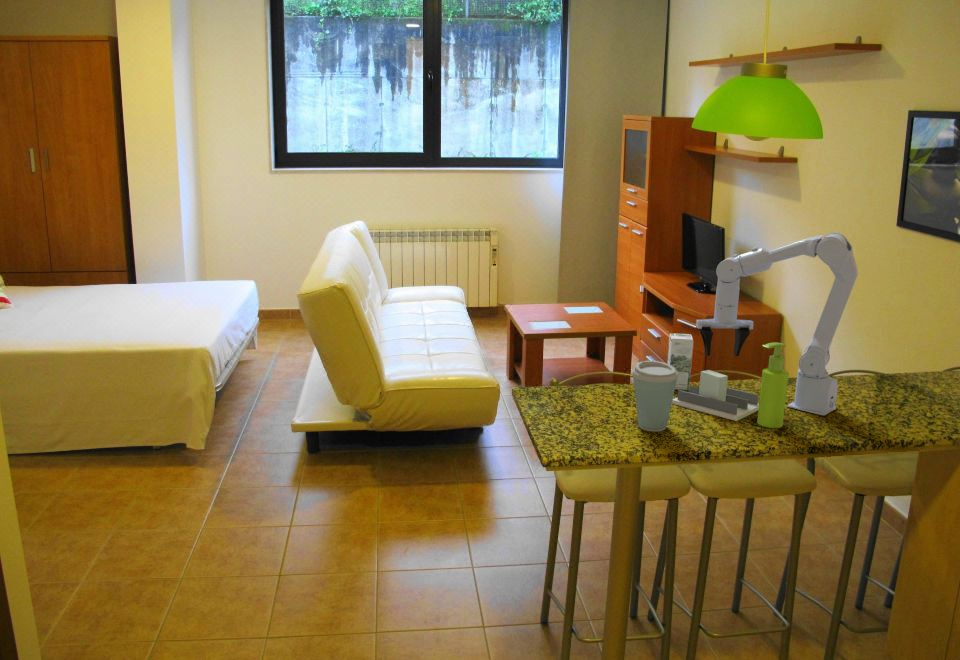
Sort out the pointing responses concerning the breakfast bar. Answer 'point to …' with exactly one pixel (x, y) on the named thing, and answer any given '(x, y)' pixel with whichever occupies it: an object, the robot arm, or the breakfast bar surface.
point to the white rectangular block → (713, 385)
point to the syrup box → (681, 358)
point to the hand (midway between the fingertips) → (721, 355)
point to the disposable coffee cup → (654, 393)
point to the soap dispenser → (773, 389)
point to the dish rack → (719, 403)
